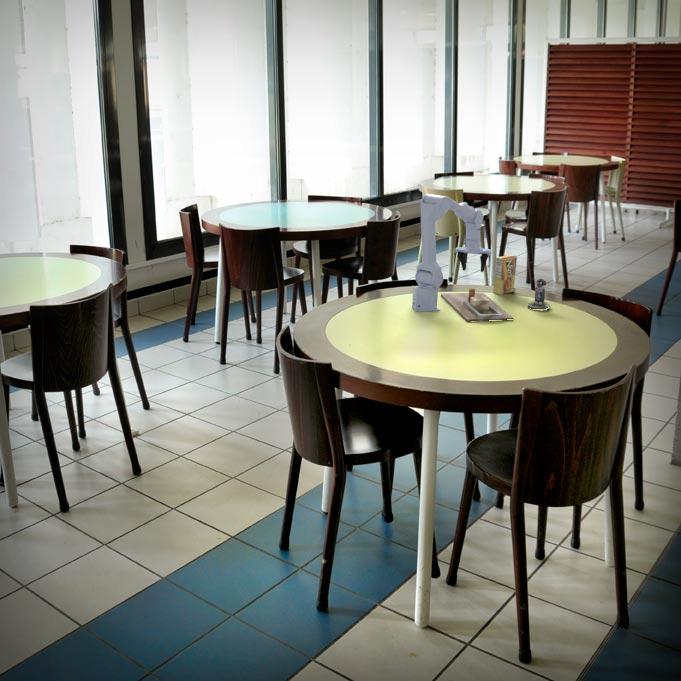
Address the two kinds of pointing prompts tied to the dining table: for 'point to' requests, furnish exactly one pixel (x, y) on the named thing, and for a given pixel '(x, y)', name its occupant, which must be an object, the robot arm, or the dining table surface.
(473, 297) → the joystick
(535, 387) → the dining table surface
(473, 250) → the robot arm
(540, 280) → the figurine
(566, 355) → the dining table surface
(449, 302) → the thin wooden panel
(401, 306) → the dining table surface
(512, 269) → the candy box
